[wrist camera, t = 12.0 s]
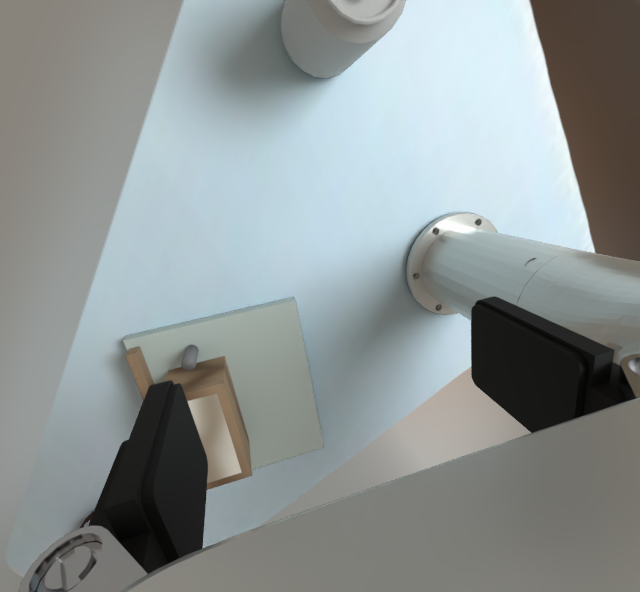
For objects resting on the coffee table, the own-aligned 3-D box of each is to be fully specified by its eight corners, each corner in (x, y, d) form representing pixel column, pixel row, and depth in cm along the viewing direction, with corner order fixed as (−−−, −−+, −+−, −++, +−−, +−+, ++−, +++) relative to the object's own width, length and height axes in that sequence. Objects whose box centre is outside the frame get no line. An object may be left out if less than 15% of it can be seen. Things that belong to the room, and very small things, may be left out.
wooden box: (224, 355, 39) (224, 383, 34) (249, 440, 43) (251, 476, 38) (168, 370, 38) (159, 400, 33) (199, 455, 42) (195, 494, 37)
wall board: (293, 296, 40) (300, 309, 36) (322, 440, 47) (330, 464, 43) (126, 335, 37) (114, 354, 33) (184, 483, 44) (180, 512, 40)
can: (365, -1, 32) (436, -92, 21) (349, 89, 35) (406, 49, 23) (285, -30, 30) (317, -146, 19) (273, 68, 32) (296, 13, 21)
